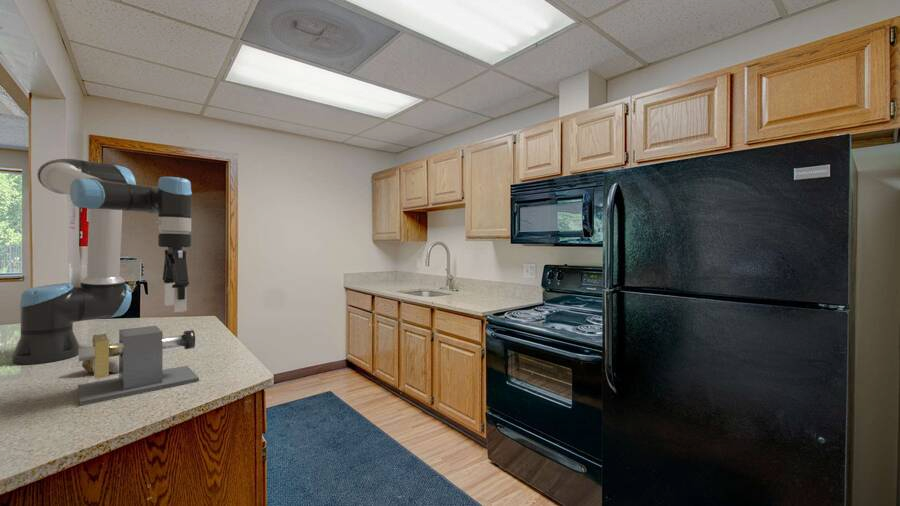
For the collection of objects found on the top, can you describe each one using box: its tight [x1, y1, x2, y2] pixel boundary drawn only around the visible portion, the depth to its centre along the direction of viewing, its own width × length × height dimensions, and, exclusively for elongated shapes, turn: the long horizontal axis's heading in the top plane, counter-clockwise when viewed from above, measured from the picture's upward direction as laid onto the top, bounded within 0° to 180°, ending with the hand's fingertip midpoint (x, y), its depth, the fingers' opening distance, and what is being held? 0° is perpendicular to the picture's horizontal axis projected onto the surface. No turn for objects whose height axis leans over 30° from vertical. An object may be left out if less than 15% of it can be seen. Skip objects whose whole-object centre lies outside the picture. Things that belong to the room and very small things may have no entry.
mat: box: [77, 365, 200, 406], centre depth 104 cm, size 14×24×1 cm, turn 136°
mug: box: [81, 356, 119, 374], centre depth 113 cm, size 8×10×10 cm
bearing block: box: [118, 325, 164, 390], centre depth 104 cm, size 10×8×15 cm
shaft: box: [78, 329, 196, 362], centre depth 104 cm, size 5×24×5 cm, turn 136°
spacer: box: [92, 333, 110, 379], centre depth 98 cm, size 9×2×9 cm, turn 46°
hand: (175, 308), depth 109 cm, fingers open, 13 cm apart
